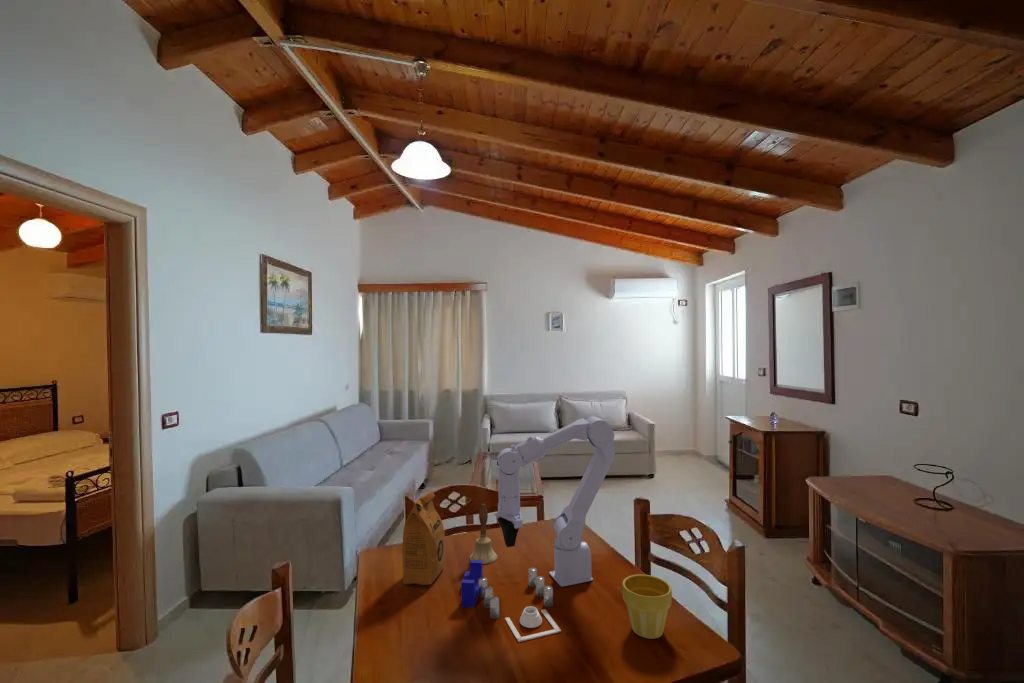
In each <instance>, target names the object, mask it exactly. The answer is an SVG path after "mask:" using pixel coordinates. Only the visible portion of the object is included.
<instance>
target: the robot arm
mask: <svg viewBox="0 0 1024 683" xmlns="http://www.w3.org/2000/svg"><path fill="white" fill-rule="evenodd" d="M615 437H616V435H615V433H614V431H613V429H612V426H611V424H610V423H609V422H608V421H606V420H603V419H602V418H600V417H599V416H597V415H592V414H591V415H588V416H586V417H584V418H579V419H577V420H575V421H573V422H571V423H569V424H567V425H565V426H564V427H562V428H560V429H558V430H556V431H554V432H552V433H550V434H548V435H546V436H544V437H539V436H536V435H535V436H533V437H532V436H528V437H526V439H527V440H524V441H522V442H520V443H517V444H516V445H515V444H512V445H510V447H511V448H510V447H507V448H503V449H501V450H500V451H499V453H498V455H497V458H496V461H497V464H498V471H497V473H498V478H497V482H498V483H497V484H498V487H497V488H498V490H497V491H498V503H497V511H494V516H495V518H496V517H497V522H498V524H499V525H500V528H501V532H502V537H503V540H504V544H505V546H506V548H511V547H515V545H516V541H517V536H518V532H519V530H520V529H522V528H523V526H524V525H523V523H524V522H523V519H522V510H521V493H520V492H521V491H520V490H521V486H520V484H521V483H520V482H521V481H520V480H521V479H520V475H519V470H520V469H521V467H523V466H526V465H529V464H530V463H533V462H534V461H535V462H536V460H539V459H541V458H543V457H545V456H546V453H547V451H548V450H549V449H553V448H555V447H558V446H560V445H562V444H565V443H567V442H570V441H572V440H575V439H576V440H581V441H585V442H587V441H589V444H590V446H591V449H592V452H593V455H592V457H591V459H590V461H589V464H588V466H587V468H586V470H585V471H584V473H583V476H582V478H581V479H580V482H579V483H578V485H577V488H576V489H575V492H574V494H573V496H572V497H571V500H570V502H569V504H568V505H567V506H566V507H564V508H563V509H562V512H561V513H560V514H558V515H557V516H556V517H555V519H554V520H553V523H552V527H553V532H555V534H556V537H555V540H554V541H553V548H554V549H553V553H554V555H553V556H554V570H552V571H549V572H548V574H549V576H551V577H552V578H553V580H554V581H555V582H556V583H557V584H558V585H559V586H560V587H562V588H563V587H568V586H573V585H578V584H583V583H586V582H587V583H588V582H592V581H593V580H594V578H593V577H592V553H591V549H590V547H589V546H590V545H588V543H587V542H586V541H583V532H584V530H585V528H586V518H587V514H588V513H589V510H590V508H591V506H592V504H593V502H594V500H595V498H596V497H597V494H598V492H599V490H600V488H601V486H602V483H603V481H605V480H604V479H605V478H606V476H607V473H608V471H609V469H610V467H611V466H612V464H613V461H614V459H615V456H616V453H615V442H614V441H615Z"/></svg>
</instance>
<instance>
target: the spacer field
mask: <svg viewBox="0 0 1024 683" xmlns="http://www.w3.org/2000/svg"><path fill="white" fill-rule="evenodd" d="M545 582H546V581H545V577H544V576H542V575H541V576H540V575H539V576H538V569H537V568H536V567H529V568H528V586H529V587H530V588H535V595H536V596H537V597H539V598H540V597H543V606H544V607H546V608H552V607H553V606H554V589H553V586H552V585H545ZM478 584H479V594H478V597H480V598H483V606H484V608H489V617H490V619H492V620H497V619H499V618H500V597H498V596H494V588H493V587H492V586H490V585H488V577H486V576H483V577H480V578H479V579H478Z"/></svg>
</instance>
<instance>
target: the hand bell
mask: <svg viewBox="0 0 1024 683" xmlns="http://www.w3.org/2000/svg"><path fill="white" fill-rule="evenodd" d="M480 504H481V505H480V508H479V511H478V519H479V524H480V533H479V534H480V536H479V537H478V538H476V540H475V545H474V550H473V551H472V553H471V554H470V556H469V558H470V559H469V561H470V562H471V560H482V563H483V565H488V564H492V563H494V562H496V561H497V560H498V555H497V553H496V552H495V551H494V549H493V547H492V540H491V538H489V537H488V536H487V523H488V517H489V516H488V515H489V514H488V509H487V505H486V503H480Z"/></svg>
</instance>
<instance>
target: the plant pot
mask: <svg viewBox="0 0 1024 683" xmlns="http://www.w3.org/2000/svg"><path fill="white" fill-rule="evenodd" d="M621 586H622V590H621V591H622V599H623V601H624V603H625V604H626V608H627V613H628V617H629V622H630V625H631V630H632V631H633V632H634V633H635V634H636V635H638V636H639V637H641V638H644V639H648V640H649V639H650V640H651V639H653V640H654V639H659V638H660V637H662V636H663V634H664V631H665V625H666V620H667V615H668V612H669V611H668V610H669V609H670V608H671V606H672V601H673V597H672V596H673V593H672V587H671V584H669V583H668V581H666V580H664V579H663V578H661V577H658V576H655V575H649V574H634V575H633V574H632V575H629V576H627V577H625V578H624V579H623V581H622V585H621Z"/></svg>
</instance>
